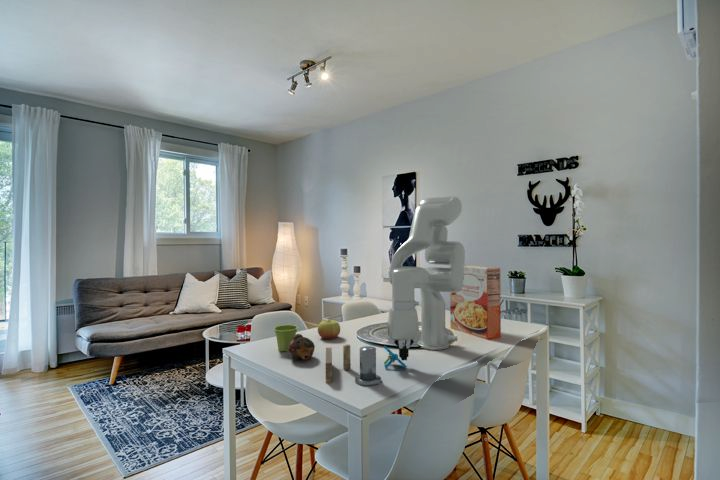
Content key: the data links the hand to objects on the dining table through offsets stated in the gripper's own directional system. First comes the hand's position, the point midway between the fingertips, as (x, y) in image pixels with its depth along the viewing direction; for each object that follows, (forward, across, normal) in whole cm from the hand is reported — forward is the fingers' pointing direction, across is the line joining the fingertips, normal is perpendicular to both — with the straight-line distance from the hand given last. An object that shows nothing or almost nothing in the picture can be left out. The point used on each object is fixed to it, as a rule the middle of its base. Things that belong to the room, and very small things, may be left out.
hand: (403, 359), depth 129 cm
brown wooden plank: (+3, +25, +3) cm, 26 cm away
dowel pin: (+3, +19, 0) cm, 20 cm away
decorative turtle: (+3, +35, -14) cm, 38 cm away
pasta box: (+3, -41, -41) cm, 58 cm away
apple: (+3, +25, -40) cm, 48 cm away
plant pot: (+3, +42, -26) cm, 49 cm away
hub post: (+3, +14, +11) cm, 17 cm away
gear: (+3, +3, 0) cm, 4 cm away
